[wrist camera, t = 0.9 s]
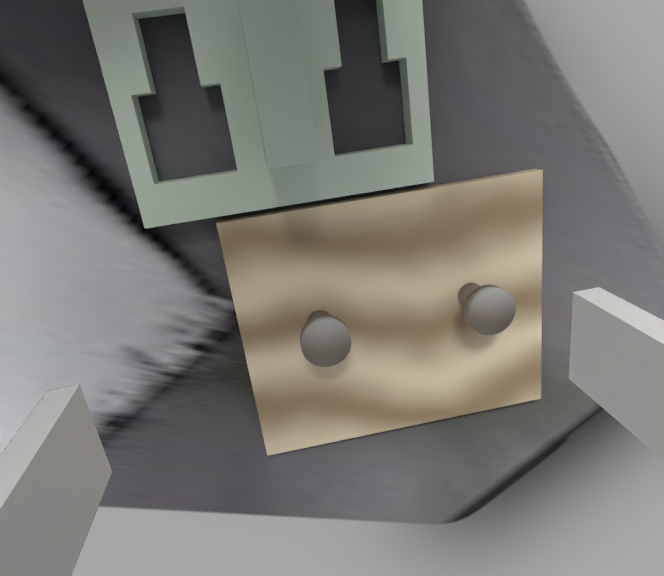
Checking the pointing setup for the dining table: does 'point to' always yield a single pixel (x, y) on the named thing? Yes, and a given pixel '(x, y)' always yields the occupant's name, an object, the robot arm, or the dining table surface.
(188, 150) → the dining table surface
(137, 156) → the panel
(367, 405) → the boss board
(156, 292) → the dining table surface
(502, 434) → the dining table surface
